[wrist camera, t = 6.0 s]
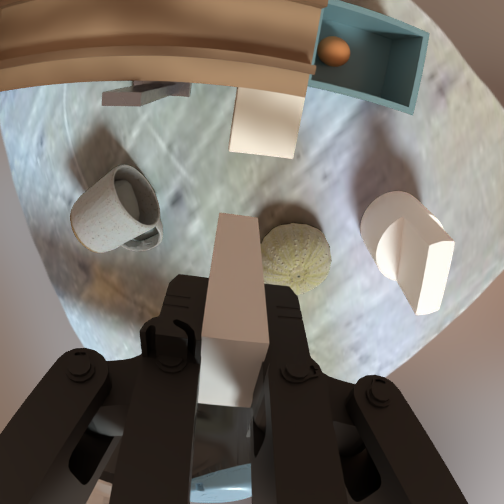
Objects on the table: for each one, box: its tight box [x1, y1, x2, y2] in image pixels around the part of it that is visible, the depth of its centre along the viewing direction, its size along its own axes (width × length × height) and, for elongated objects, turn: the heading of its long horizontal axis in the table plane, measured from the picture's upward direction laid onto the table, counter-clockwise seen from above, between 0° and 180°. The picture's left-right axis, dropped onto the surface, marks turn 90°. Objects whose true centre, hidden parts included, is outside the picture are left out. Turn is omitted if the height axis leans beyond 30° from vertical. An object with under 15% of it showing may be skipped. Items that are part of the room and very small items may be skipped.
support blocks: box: [102, 81, 192, 106], centre depth 21 cm, size 14×24×12 cm, turn 81°
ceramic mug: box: [70, 165, 163, 253], centre depth 34 cm, size 11×8×8 cm
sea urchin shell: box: [261, 223, 332, 295], centre depth 39 cm, size 9×8×8 cm
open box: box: [307, 0, 430, 115], centre depth 25 cm, size 8×10×8 cm
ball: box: [317, 36, 350, 67], centre depth 26 cm, size 3×3×3 cm
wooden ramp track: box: [0, 0, 328, 159], centre depth 18 cm, size 15×26×3 cm, turn 81°
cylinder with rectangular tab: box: [360, 191, 455, 315], centre depth 33 cm, size 9×9×12 cm
